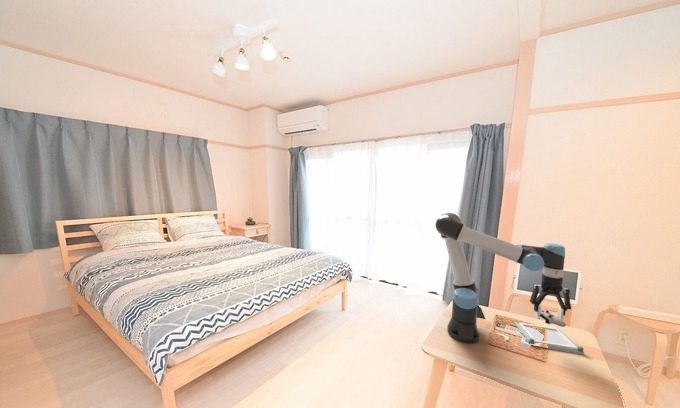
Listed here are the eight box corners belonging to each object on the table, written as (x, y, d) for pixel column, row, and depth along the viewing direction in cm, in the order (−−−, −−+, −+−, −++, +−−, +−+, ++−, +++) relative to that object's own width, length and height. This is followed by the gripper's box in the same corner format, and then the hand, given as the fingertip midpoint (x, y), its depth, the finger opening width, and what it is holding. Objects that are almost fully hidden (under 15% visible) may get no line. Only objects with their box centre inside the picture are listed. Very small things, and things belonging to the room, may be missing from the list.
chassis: (530, 345, 117) (530, 340, 117) (513, 324, 135) (514, 319, 134) (584, 354, 112) (584, 349, 111) (559, 331, 129) (560, 326, 129)
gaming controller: (568, 326, 109) (557, 314, 110) (557, 334, 110) (546, 323, 111) (550, 313, 121) (540, 303, 121) (540, 320, 121) (530, 310, 122)
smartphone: (472, 316, 142) (468, 303, 156) (472, 317, 142) (468, 304, 156) (485, 318, 139) (479, 305, 154) (485, 320, 140) (479, 306, 154)
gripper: (529, 275, 114) (526, 319, 116) (585, 281, 107) (580, 328, 109) (523, 270, 121) (520, 311, 123) (574, 275, 114) (570, 319, 116)
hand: (548, 319), depth 116 cm, fingers closed on gaming controller, 8 cm apart
